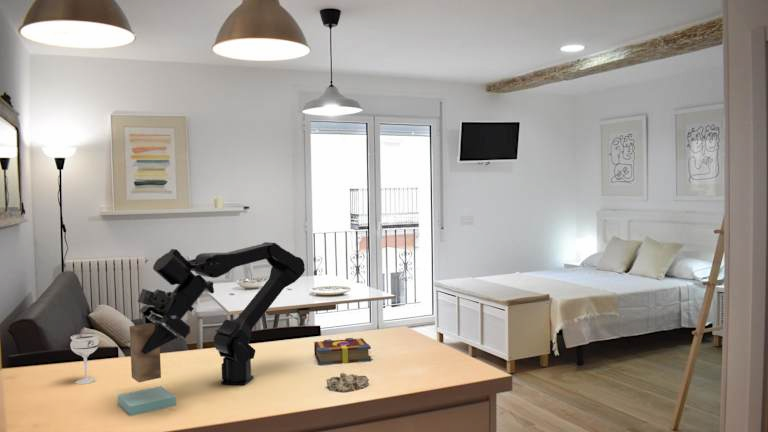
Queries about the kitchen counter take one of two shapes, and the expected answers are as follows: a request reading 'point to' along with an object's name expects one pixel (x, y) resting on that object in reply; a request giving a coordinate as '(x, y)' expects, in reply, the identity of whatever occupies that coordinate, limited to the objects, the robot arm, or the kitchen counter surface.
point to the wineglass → (84, 350)
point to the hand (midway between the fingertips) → (139, 350)
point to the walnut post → (141, 363)
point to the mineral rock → (347, 382)
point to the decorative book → (341, 351)
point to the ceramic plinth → (146, 400)
